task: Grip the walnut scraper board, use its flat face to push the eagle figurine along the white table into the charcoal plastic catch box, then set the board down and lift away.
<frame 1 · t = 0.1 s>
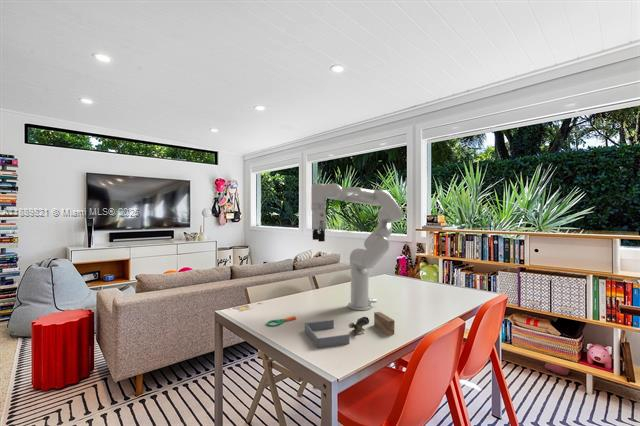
hand: (318, 240, 161), 37 cm above the table, tool pointing down, fingers open, 9 cm apart
catch box: (326, 337, 128), on the table
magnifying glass: (281, 323, 145), on the table
scraper board: (383, 329, 137), on the table
eagle figurine: (359, 333, 133), on the table
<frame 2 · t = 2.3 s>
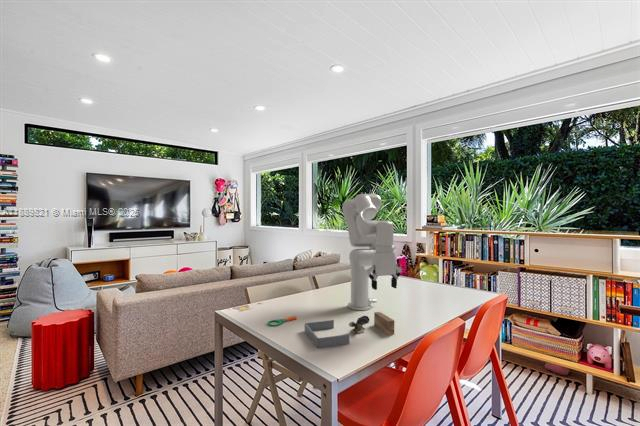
hand: (384, 288, 137), 18 cm above the table, tool pointing down, fingers open, 9 cm apart
eagle figurine: (359, 332, 134), on the table
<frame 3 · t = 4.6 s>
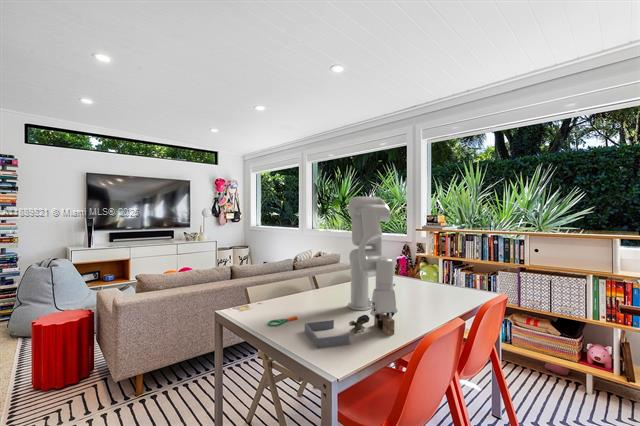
hand: (383, 327, 137), 1 cm above the table, tool pointing down, fingers closed on scraper board, 3 cm apart
scraper board: (383, 329, 137), on the table, touching gripper
eagle figurine: (359, 331, 136), on the table
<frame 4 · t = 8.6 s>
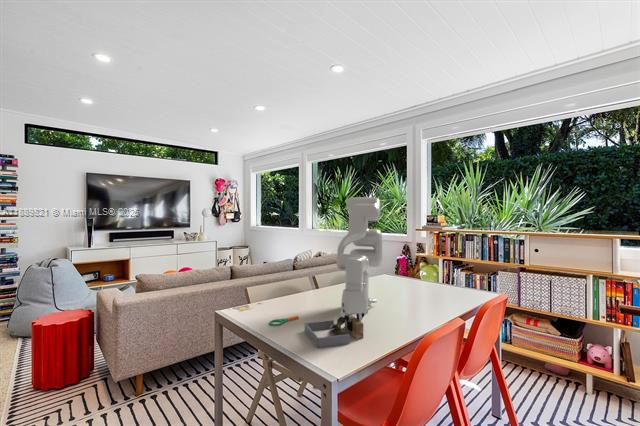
hand: (353, 329, 132), 2 cm above the table, tool pointing down, fingers closed on scraper board, 3 cm apart
scraper board: (353, 333, 132), on the table, touching gripper
eagle figurine: (338, 333, 133), on the table
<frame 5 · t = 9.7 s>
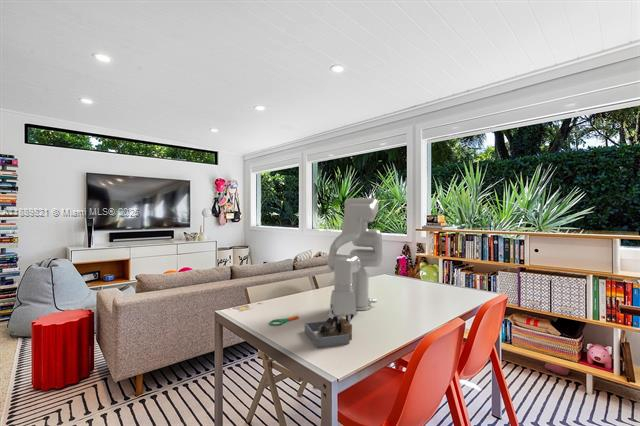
hand: (342, 330, 130), 2 cm above the table, tool pointing down, fingers closed on scraper board, 2 cm apart
scraper board: (342, 334, 131), on the table, touching eagle figurine, gripper
eagle figurine: (327, 334, 132), on the table, touching gripper, scraper board
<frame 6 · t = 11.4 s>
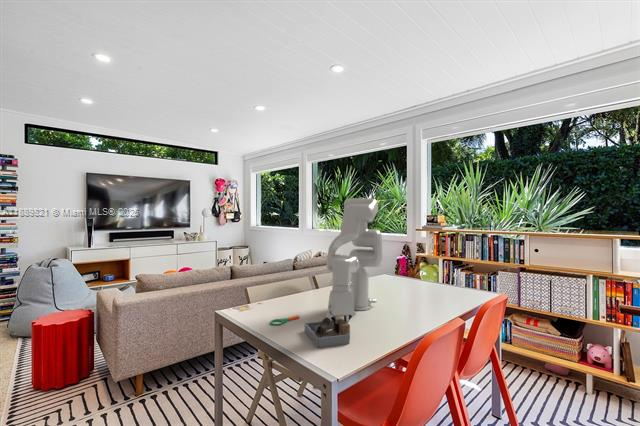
hand: (341, 331, 130), 2 cm above the table, tool pointing down, fingers closed on scraper board, 3 cm apart
scraper board: (340, 334, 131), on the table, touching gripper
eagle figurine: (323, 334, 131), on the table, touching catch box
when the fingers open (1 cm above the table, at t = 13.3 s): scraper board stays where it is, on the table.
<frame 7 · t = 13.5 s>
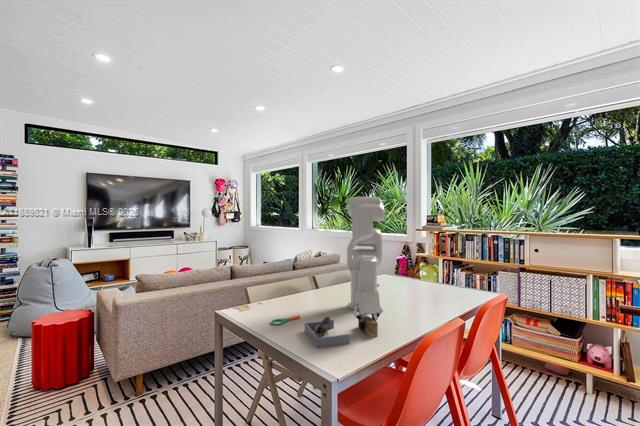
hand: (367, 328, 134), 1 cm above the table, tool pointing down, fingers open, 4 cm apart
scraper board: (367, 332, 134), on the table
eagle figurine: (323, 334, 131), on the table
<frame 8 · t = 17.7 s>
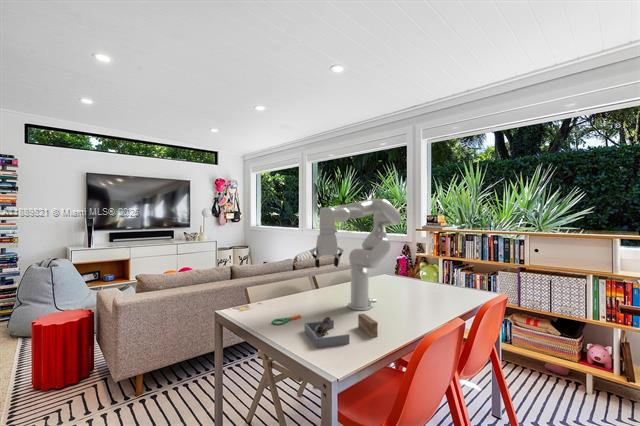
hand: (326, 266, 154), 24 cm above the table, tool pointing down, fingers open, 9 cm apart
at the end: eagle figurine inside the target area (3.4 cm from its centre), on the table; eagle figurine moved 15.4 cm from its start; the gripper is holding nothing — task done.
